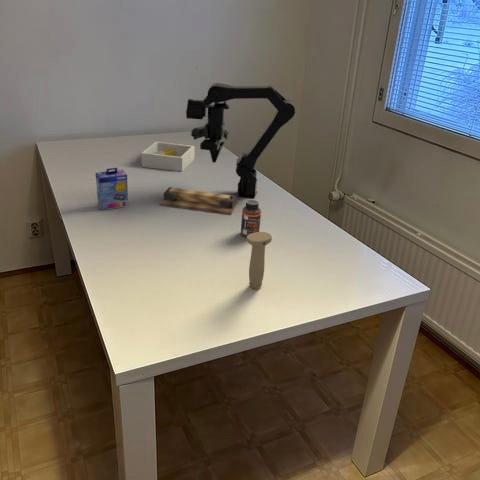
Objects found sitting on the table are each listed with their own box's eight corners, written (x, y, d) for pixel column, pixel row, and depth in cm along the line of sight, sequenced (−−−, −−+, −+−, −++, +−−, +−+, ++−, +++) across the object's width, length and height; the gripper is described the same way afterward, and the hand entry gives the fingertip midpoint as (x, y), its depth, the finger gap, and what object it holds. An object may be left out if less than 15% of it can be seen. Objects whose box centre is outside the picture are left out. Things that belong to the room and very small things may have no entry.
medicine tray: (194, 158, 223) (194, 146, 220) (182, 171, 207) (182, 157, 204) (156, 154, 225) (156, 141, 222) (141, 166, 209) (141, 153, 207)
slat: (230, 203, 177) (230, 195, 176) (228, 206, 175) (228, 198, 173) (171, 195, 181) (171, 187, 179) (169, 198, 178) (169, 190, 177)
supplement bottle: (246, 239, 155) (248, 206, 149) (237, 232, 159) (239, 199, 154) (262, 236, 157) (265, 204, 152) (253, 229, 162) (255, 197, 157)
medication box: (153, 164, 214) (153, 155, 212) (149, 162, 215) (149, 153, 213) (174, 158, 222) (174, 149, 220) (170, 156, 223) (170, 147, 221)
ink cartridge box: (101, 211, 168) (98, 171, 161) (97, 205, 172) (93, 165, 165) (129, 206, 172) (127, 167, 165) (124, 201, 176) (122, 162, 170)
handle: (240, 284, 131) (243, 234, 124) (260, 279, 134) (264, 230, 127) (249, 294, 128) (253, 243, 121) (270, 288, 131) (275, 238, 124)
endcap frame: (238, 201, 181) (238, 192, 180) (231, 214, 171) (231, 205, 169) (170, 192, 185) (170, 184, 184) (160, 205, 175) (159, 195, 173)
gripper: (200, 112, 185) (200, 152, 192) (186, 124, 169) (185, 167, 176) (229, 115, 183) (227, 155, 190) (217, 127, 167) (216, 171, 174)
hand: (214, 162), depth 183 cm, fingers closed
